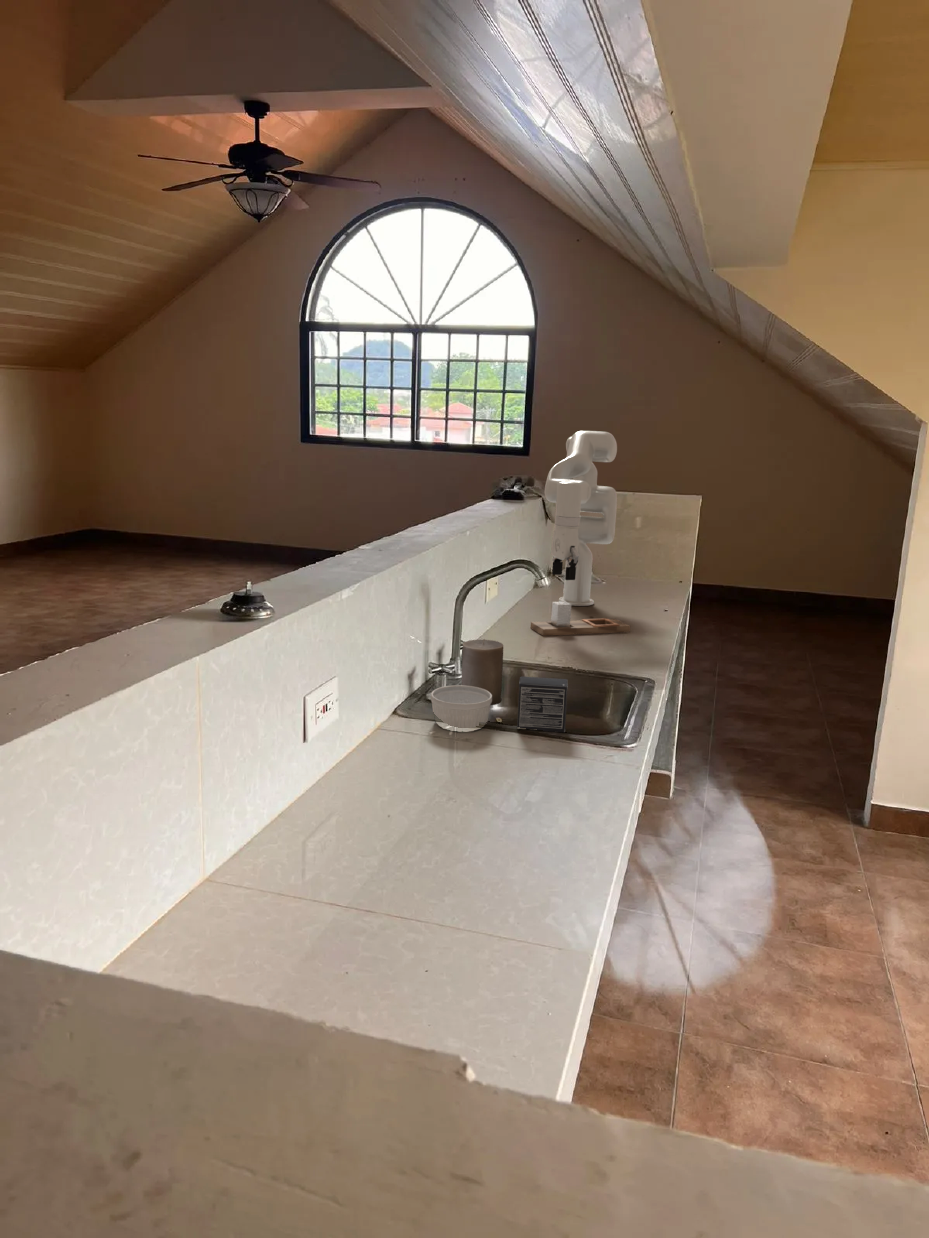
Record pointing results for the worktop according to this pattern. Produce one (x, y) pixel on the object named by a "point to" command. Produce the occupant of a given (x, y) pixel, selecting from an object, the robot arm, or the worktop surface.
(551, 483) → the robot arm
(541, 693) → the small box
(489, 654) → the pillar candle
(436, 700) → the ramekin
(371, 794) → the worktop surface
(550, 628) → the tan flat board
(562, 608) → the grey square block
